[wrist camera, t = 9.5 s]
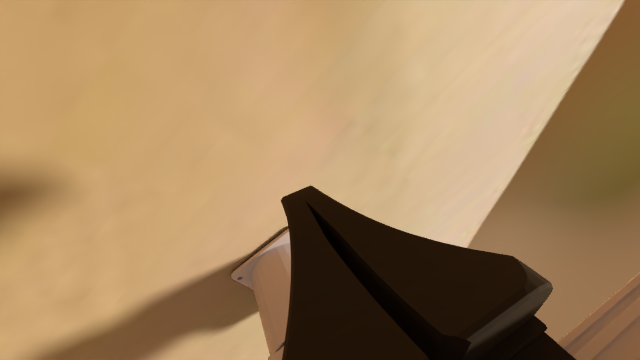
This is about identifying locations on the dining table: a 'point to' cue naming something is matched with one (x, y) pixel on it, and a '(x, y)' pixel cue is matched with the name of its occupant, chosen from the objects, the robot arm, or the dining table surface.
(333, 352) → the robot arm
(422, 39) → the dining table surface
